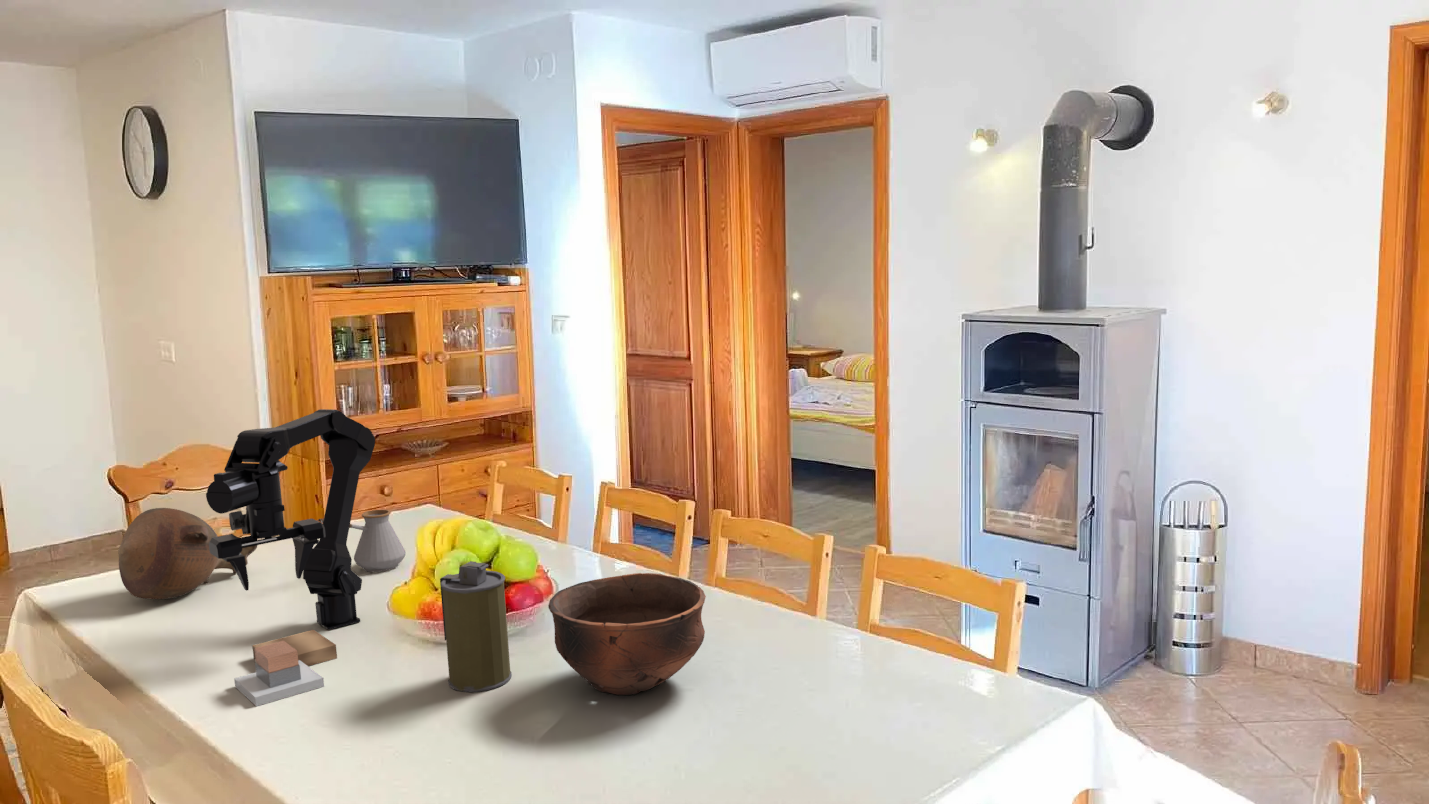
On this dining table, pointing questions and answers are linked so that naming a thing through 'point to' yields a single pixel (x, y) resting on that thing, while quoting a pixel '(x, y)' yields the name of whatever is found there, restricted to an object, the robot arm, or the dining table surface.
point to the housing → (277, 664)
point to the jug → (168, 554)
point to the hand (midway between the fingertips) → (273, 584)
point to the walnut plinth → (308, 647)
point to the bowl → (628, 629)
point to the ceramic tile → (265, 694)
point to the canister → (475, 628)
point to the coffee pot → (377, 543)
